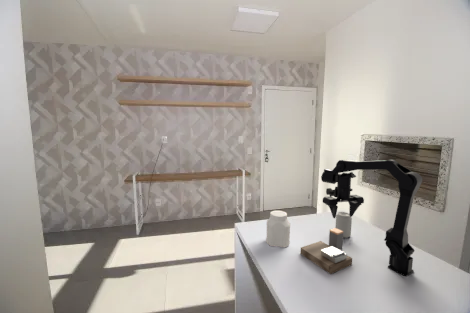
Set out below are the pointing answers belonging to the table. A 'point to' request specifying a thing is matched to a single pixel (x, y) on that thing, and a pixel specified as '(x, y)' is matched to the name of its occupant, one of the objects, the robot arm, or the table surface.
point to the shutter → (333, 254)
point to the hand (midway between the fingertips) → (342, 217)
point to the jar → (278, 229)
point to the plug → (336, 238)
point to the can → (344, 223)
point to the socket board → (315, 256)
